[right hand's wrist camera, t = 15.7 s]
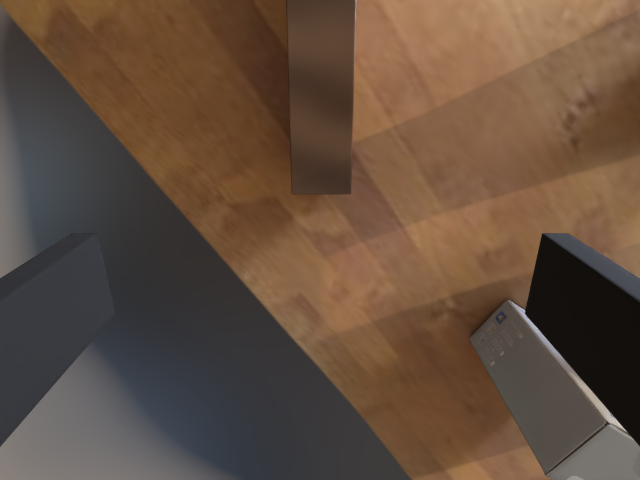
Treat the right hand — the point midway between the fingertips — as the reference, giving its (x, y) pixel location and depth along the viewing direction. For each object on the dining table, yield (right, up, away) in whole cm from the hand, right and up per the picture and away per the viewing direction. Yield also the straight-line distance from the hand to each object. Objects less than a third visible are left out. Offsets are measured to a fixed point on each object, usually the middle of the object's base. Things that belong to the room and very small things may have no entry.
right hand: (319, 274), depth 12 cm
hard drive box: (+28, -13, +42) cm, 52 cm away
